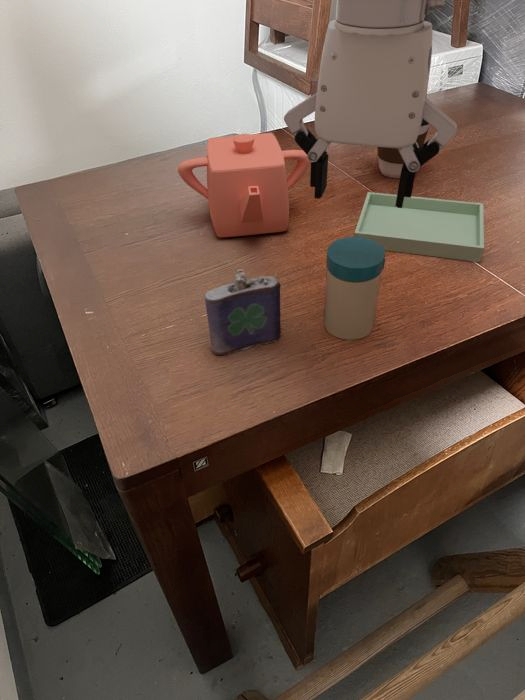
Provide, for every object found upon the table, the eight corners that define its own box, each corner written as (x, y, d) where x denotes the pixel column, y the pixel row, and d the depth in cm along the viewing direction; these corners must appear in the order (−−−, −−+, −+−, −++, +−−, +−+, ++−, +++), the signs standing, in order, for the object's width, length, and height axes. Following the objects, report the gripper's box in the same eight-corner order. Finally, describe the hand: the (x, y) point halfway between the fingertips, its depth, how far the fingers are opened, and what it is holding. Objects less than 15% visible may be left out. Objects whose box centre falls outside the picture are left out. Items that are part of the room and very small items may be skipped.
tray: (479, 216, 86) (483, 203, 84) (479, 262, 76) (484, 248, 74) (366, 204, 90) (367, 191, 89) (353, 246, 81) (354, 232, 79)
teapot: (185, 202, 94) (173, 125, 84) (302, 191, 95) (303, 114, 85) (186, 261, 79) (172, 176, 70) (324, 248, 81) (329, 162, 71)
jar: (376, 312, 69) (387, 244, 61) (369, 344, 64) (379, 274, 57) (329, 304, 70) (333, 237, 63) (318, 335, 66) (322, 267, 58)
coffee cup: (398, 189, 94) (409, 123, 86) (356, 170, 101) (362, 107, 92) (436, 172, 99) (449, 107, 91) (393, 155, 105) (402, 93, 97)
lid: (387, 254, 62) (389, 240, 61) (379, 285, 58) (382, 271, 56) (332, 246, 64) (333, 233, 63) (320, 277, 59) (321, 263, 58)
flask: (214, 358, 63) (204, 289, 56) (209, 343, 65) (198, 275, 58) (283, 340, 65) (283, 271, 58) (276, 326, 67) (274, 258, 60)
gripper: (488, -1, 43) (444, 190, 55) (292, -5, 47) (290, 174, 59) (490, 18, 38) (440, 224, 50) (269, 12, 42) (273, 204, 54)
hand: (359, 196), depth 55 cm, fingers open, 8 cm apart
